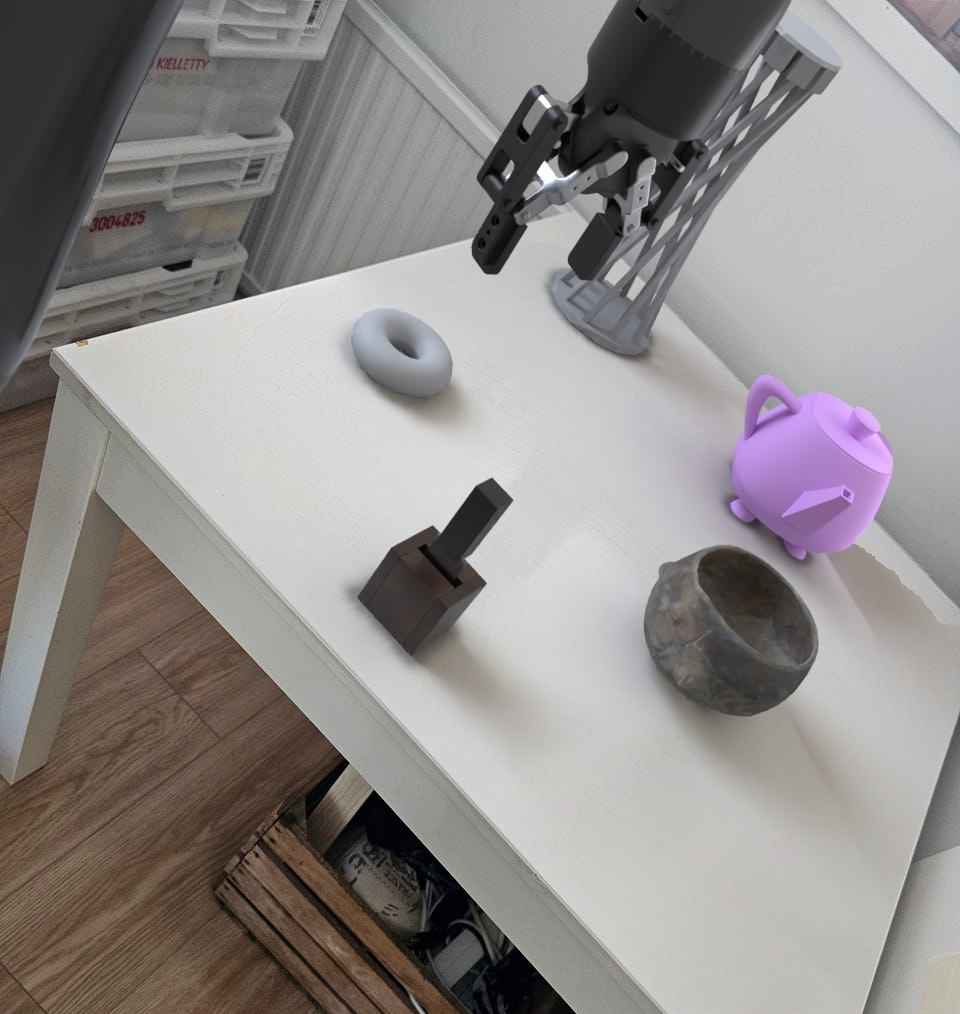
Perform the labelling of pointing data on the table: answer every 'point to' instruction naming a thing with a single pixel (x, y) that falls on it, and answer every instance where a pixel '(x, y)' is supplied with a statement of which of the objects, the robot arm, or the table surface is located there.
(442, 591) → the knife block
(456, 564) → the knife
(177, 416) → the table surface
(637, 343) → the gray lattice tower
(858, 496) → the teapot
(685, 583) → the bowl
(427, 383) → the donut
